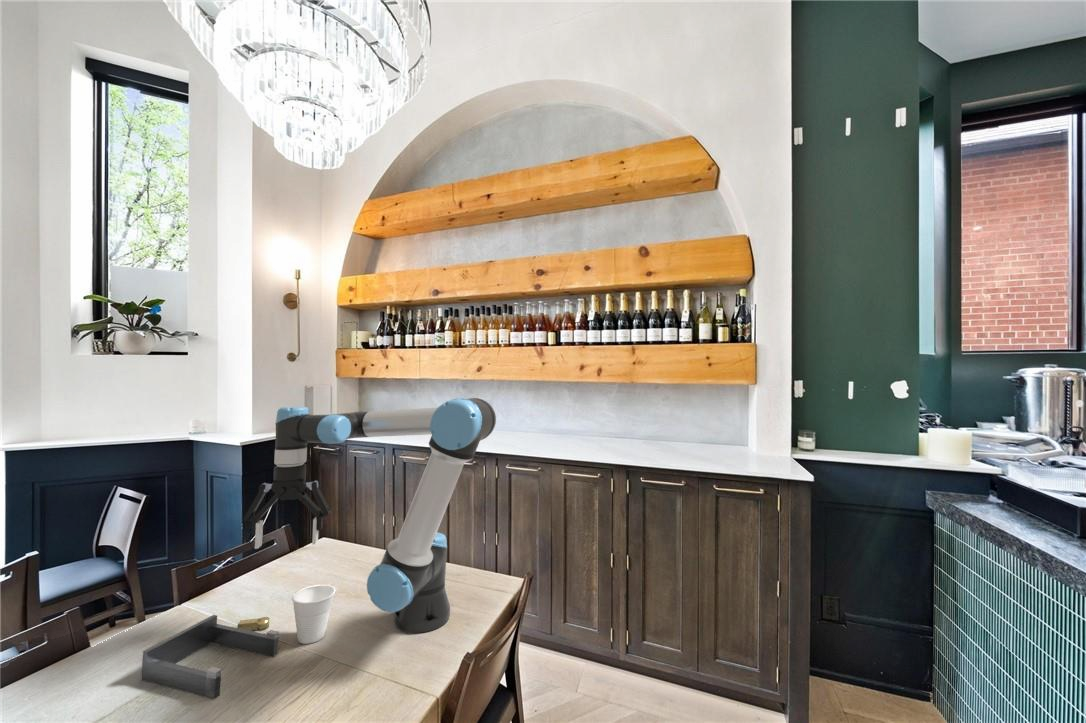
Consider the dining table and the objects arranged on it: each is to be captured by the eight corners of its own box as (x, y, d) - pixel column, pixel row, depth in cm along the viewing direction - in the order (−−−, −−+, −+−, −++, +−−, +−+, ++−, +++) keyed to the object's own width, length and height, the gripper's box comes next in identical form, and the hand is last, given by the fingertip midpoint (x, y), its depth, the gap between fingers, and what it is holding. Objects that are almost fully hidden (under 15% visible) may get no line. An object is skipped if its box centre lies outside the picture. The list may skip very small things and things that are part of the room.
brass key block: (270, 624, 114) (270, 616, 115) (266, 629, 112) (267, 621, 112) (240, 627, 113) (241, 619, 113) (236, 633, 110) (236, 625, 110)
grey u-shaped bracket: (277, 654, 102) (279, 628, 102) (213, 699, 87) (216, 668, 87) (211, 639, 107) (213, 614, 107) (140, 679, 92) (143, 651, 92)
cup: (322, 622, 116) (325, 580, 117) (340, 636, 110) (342, 592, 110) (282, 638, 108) (285, 593, 109) (298, 654, 102) (301, 607, 103)
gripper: (343, 460, 122) (340, 536, 121) (244, 463, 116) (240, 543, 115) (337, 464, 115) (334, 545, 113) (231, 468, 109) (226, 554, 107)
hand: (287, 544), depth 114 cm, fingers open, 13 cm apart
